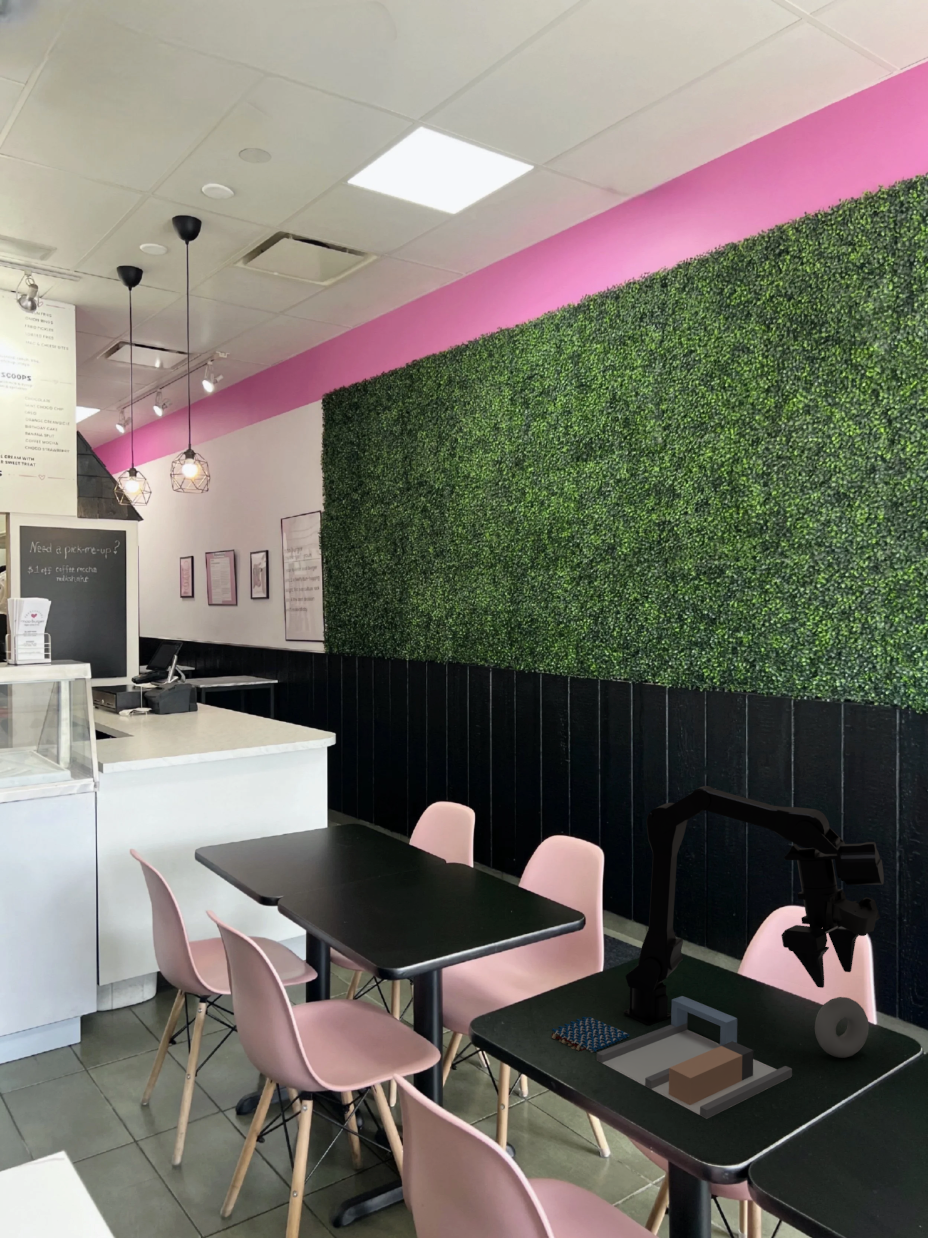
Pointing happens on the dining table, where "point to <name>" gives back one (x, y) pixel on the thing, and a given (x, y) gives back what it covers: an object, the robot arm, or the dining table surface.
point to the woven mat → (588, 1034)
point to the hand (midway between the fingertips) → (834, 979)
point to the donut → (854, 1032)
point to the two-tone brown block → (710, 1072)
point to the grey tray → (687, 1058)
